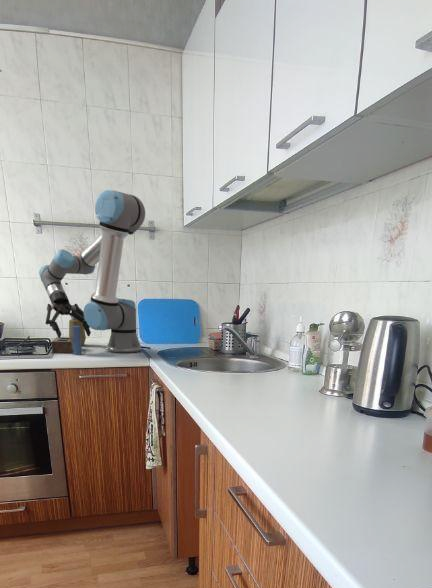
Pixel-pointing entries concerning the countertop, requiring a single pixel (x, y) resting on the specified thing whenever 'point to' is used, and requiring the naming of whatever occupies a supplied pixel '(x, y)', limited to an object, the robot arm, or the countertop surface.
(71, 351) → the peg stand
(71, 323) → the squeeze bottle
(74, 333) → the peg
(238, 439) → the countertop surface
